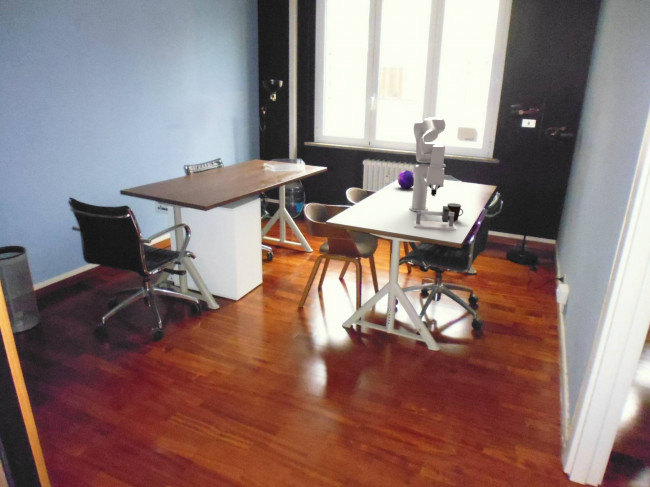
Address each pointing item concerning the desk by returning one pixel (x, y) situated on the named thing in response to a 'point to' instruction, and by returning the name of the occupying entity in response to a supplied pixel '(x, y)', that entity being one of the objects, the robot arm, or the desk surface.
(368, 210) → the desk surface
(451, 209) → the coffee mug
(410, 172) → the decorative orb
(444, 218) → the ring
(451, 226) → the rail fixture
